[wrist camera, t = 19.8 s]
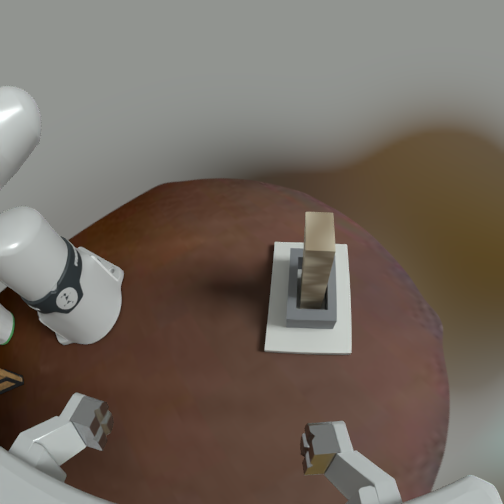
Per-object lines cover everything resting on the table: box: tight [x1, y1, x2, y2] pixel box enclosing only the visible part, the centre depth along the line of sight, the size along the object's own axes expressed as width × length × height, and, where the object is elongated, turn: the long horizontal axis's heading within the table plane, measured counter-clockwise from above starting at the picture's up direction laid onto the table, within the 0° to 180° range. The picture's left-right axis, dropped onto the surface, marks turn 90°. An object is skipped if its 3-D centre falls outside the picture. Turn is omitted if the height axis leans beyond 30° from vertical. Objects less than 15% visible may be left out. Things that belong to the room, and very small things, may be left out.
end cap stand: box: [265, 242, 351, 355], centre depth 40 cm, size 12×18×4 cm, turn 174°
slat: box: [300, 212, 336, 309], centre depth 35 cm, size 3×5×15 cm, turn 173°
